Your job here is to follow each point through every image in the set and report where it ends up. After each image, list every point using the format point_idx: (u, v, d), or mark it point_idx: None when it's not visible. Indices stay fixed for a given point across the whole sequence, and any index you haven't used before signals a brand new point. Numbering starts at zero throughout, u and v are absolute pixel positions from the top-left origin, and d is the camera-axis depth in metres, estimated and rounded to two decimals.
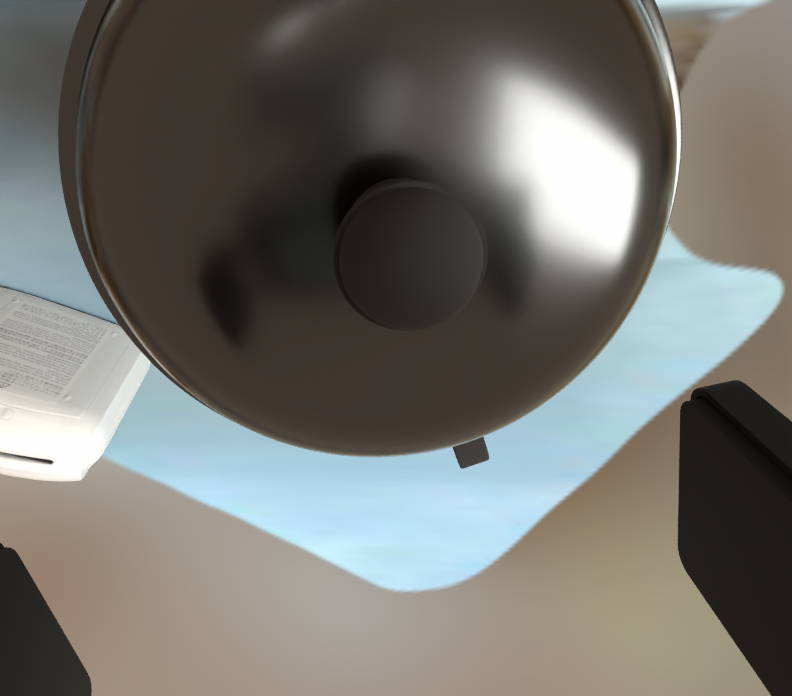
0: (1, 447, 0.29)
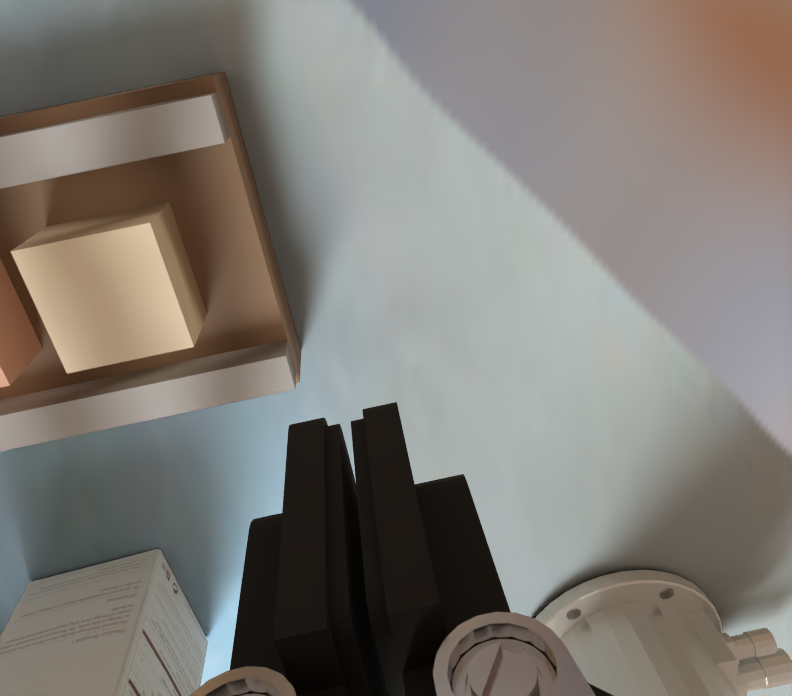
0: None
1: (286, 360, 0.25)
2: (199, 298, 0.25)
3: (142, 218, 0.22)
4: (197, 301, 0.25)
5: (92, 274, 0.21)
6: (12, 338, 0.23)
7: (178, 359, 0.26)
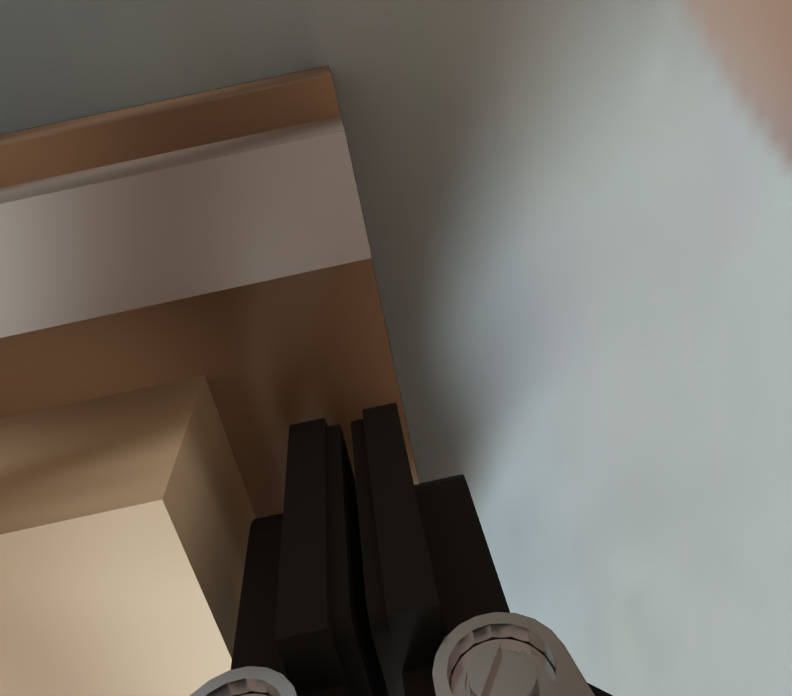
0: None
1: None
2: None
3: (141, 459, 0.08)
4: None
5: (4, 622, 0.08)
6: None
7: None
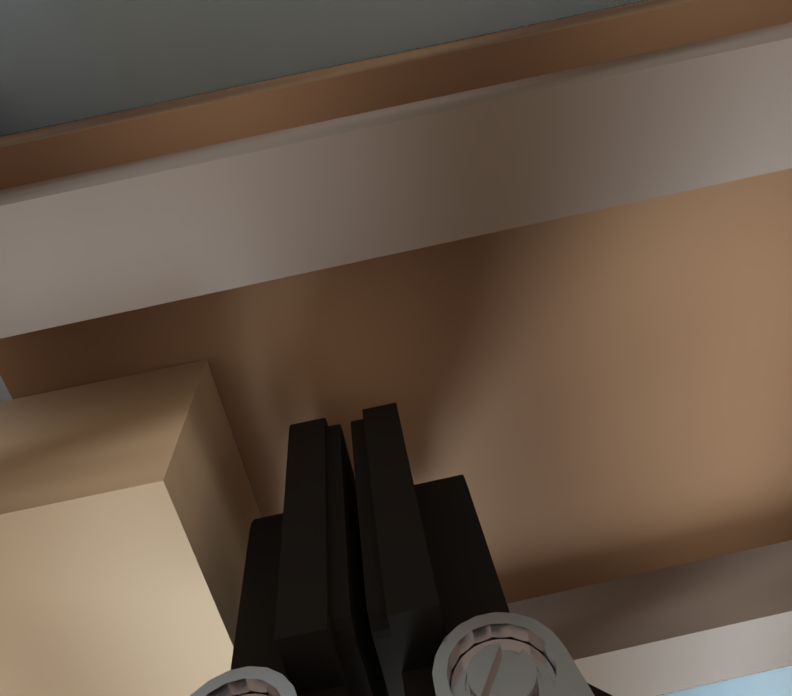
0: None
1: None
2: None
3: (142, 441, 0.08)
4: None
5: (4, 604, 0.08)
6: None
7: (735, 548, 0.13)
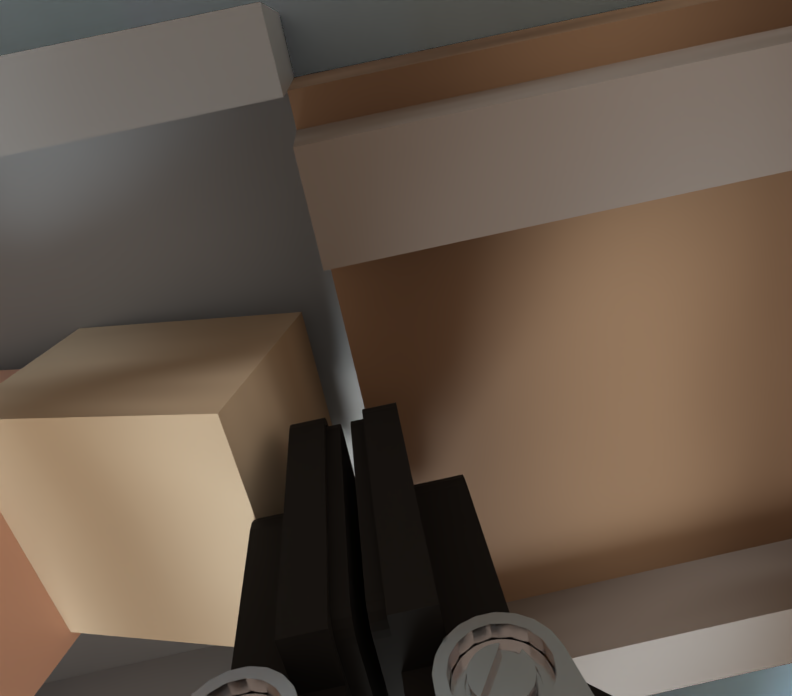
0: None
1: None
2: None
3: (219, 377, 0.09)
4: None
5: (101, 488, 0.09)
6: None
7: None
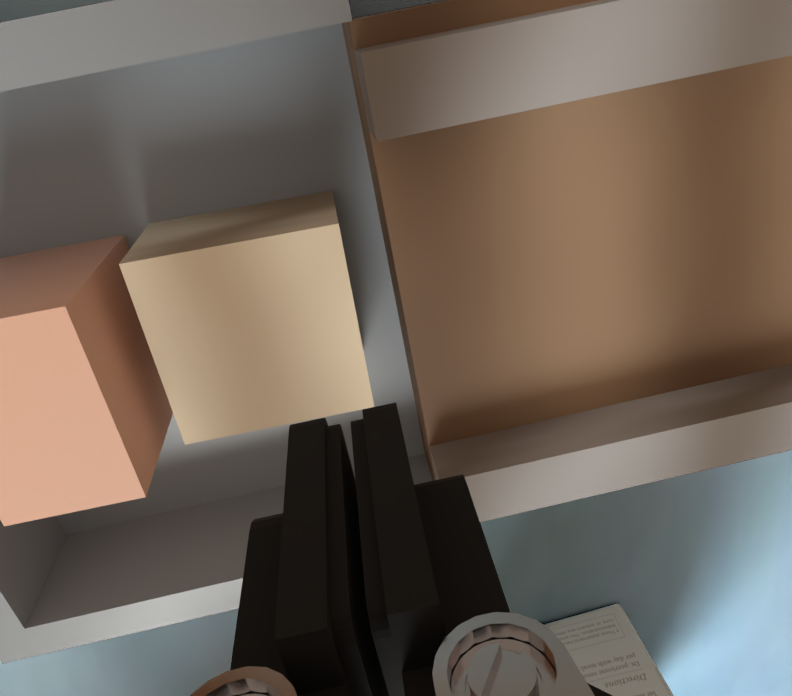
0: None
1: None
2: None
3: (314, 215, 0.14)
4: None
5: (240, 300, 0.14)
6: (49, 468, 0.13)
7: None
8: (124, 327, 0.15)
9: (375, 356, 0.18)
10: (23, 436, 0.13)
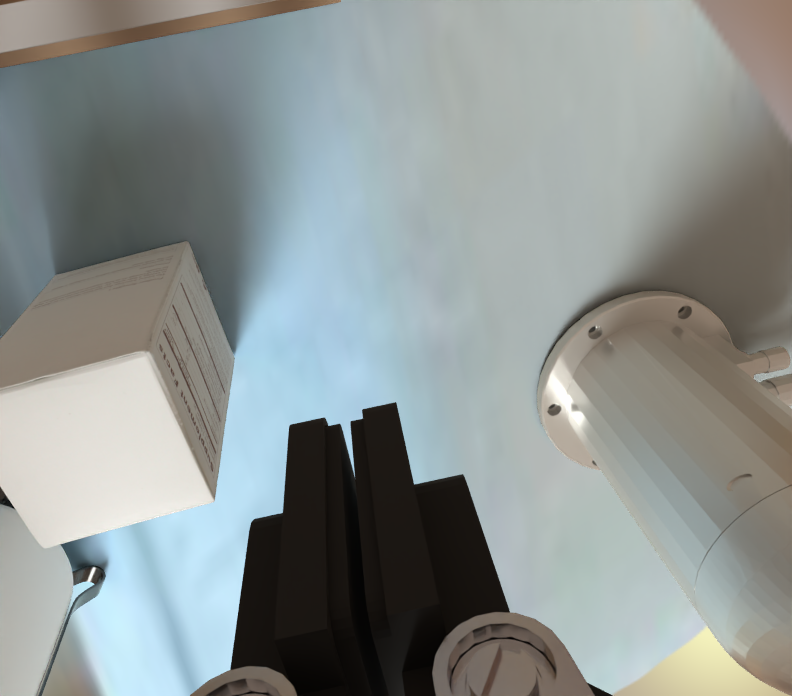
0: None
1: None
2: None
3: None
4: None
5: None
6: None
7: None
8: None
9: None
10: None
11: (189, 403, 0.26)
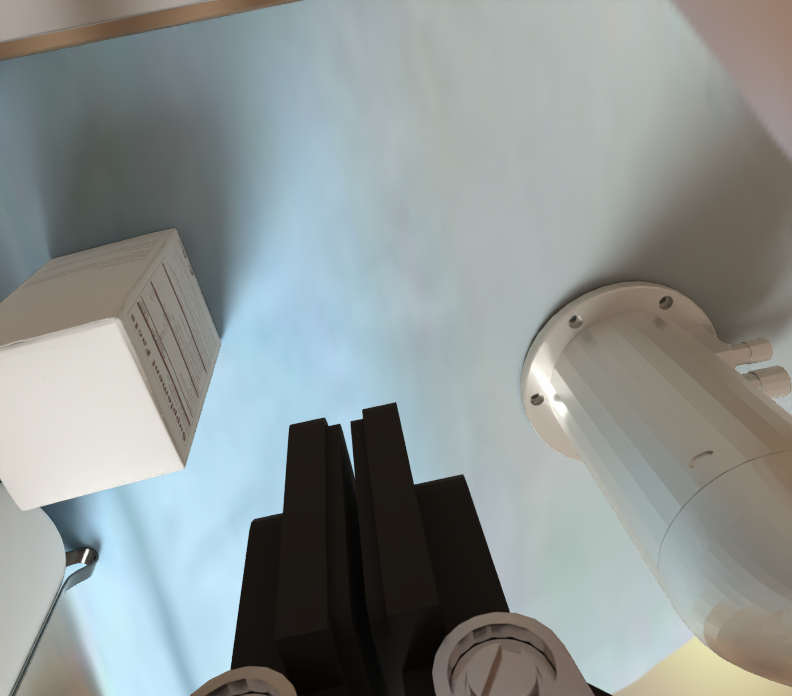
0: None
1: None
2: None
3: None
4: None
5: None
6: None
7: None
8: None
9: None
10: None
11: (161, 373, 0.27)
